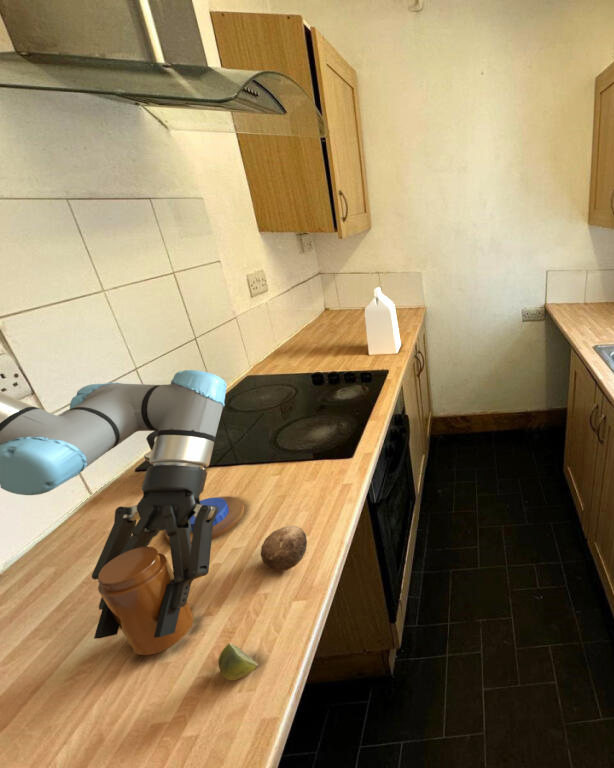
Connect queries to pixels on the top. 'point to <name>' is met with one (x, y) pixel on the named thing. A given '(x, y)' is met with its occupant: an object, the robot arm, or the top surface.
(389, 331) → the milk
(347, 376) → the top surface
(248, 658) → the lime
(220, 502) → the lid
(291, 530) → the brown oval lump
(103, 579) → the jar
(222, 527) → the coaster
